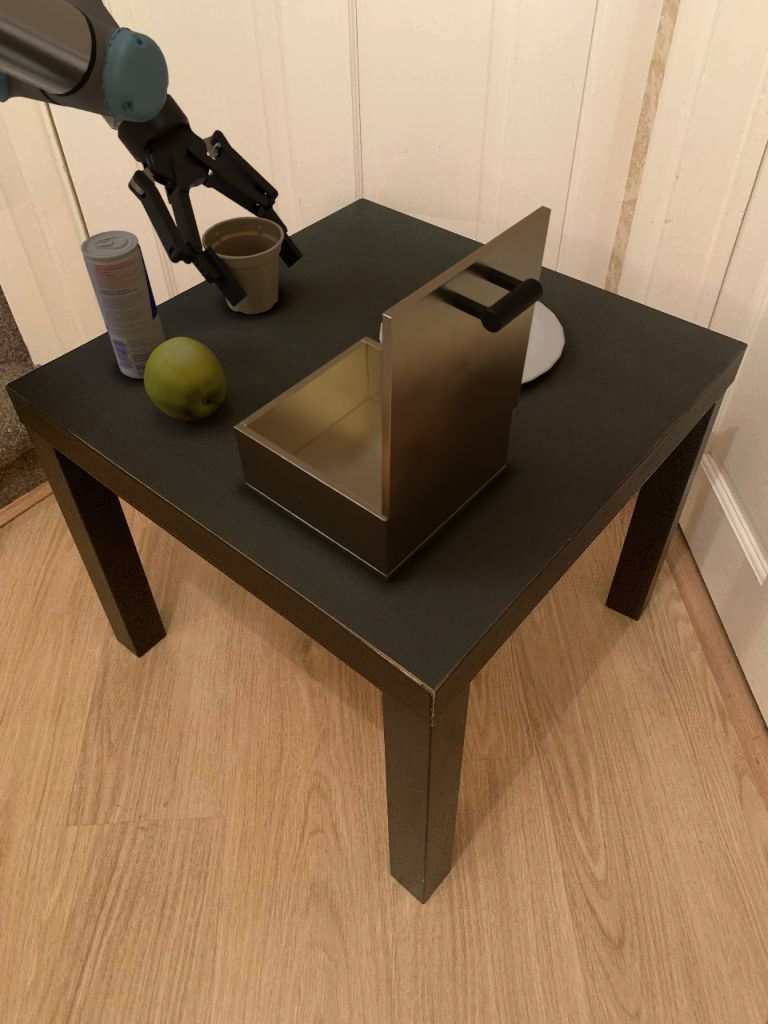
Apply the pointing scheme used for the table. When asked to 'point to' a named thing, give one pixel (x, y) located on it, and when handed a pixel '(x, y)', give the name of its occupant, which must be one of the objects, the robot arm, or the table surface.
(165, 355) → the apple
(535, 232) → the lid
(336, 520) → the bronze square open box
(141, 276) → the beverage can
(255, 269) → the flower pot
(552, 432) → the table surface
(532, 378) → the plate
